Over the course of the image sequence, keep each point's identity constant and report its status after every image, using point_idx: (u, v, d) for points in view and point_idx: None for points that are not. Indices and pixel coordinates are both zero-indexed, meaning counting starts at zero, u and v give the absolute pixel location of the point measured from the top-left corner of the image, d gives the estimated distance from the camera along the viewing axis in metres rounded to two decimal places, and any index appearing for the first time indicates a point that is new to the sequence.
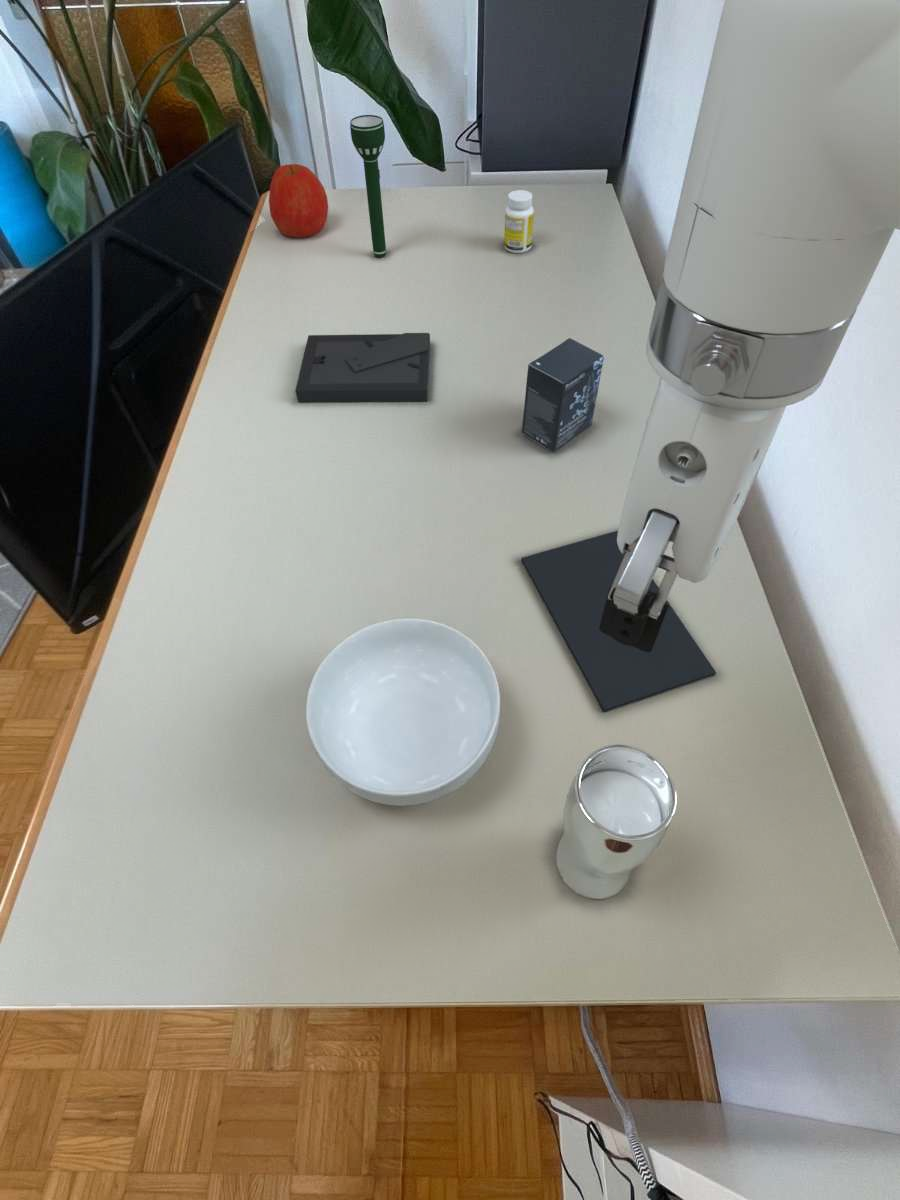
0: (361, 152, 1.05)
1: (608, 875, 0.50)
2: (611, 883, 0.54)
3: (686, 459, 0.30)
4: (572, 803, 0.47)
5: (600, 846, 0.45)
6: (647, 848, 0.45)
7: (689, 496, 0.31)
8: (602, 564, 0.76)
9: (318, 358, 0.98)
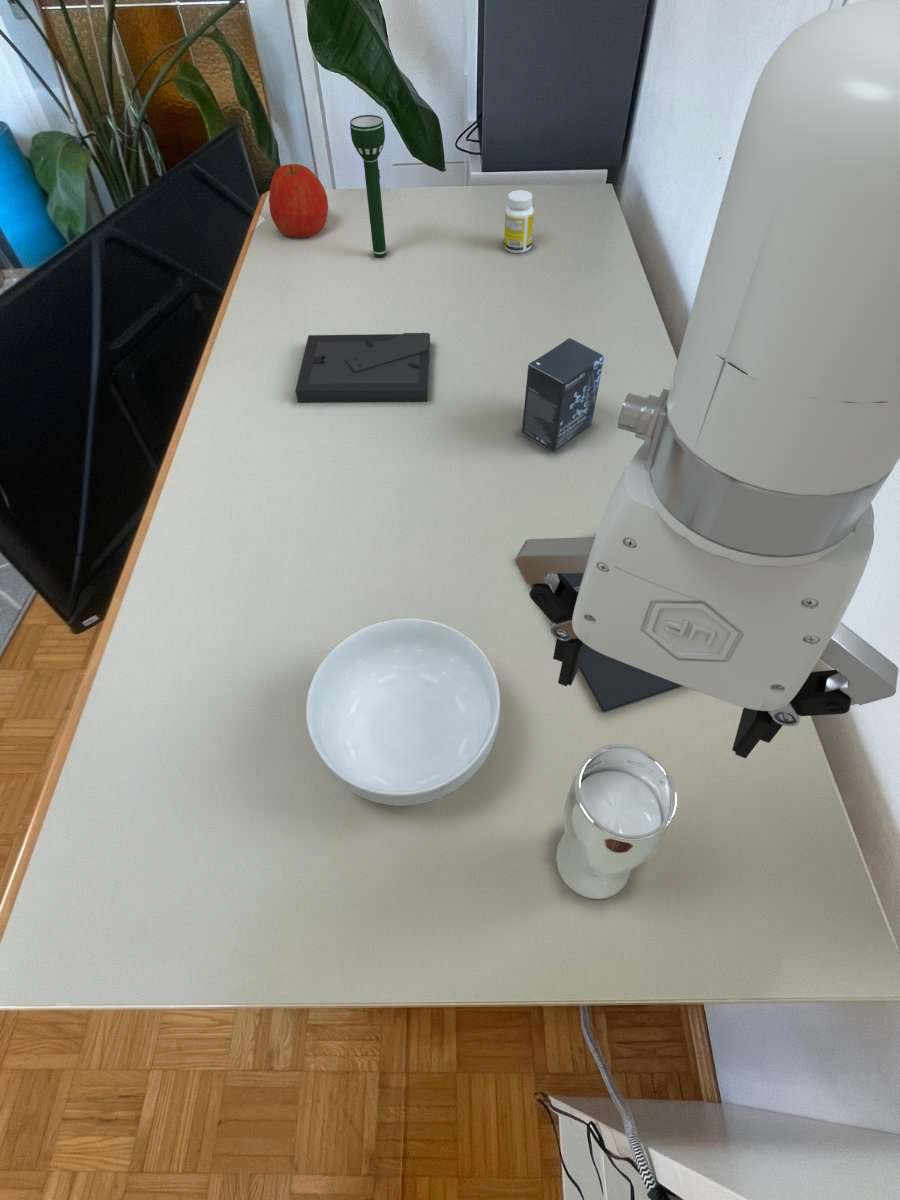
0: (361, 152, 1.05)
1: (608, 875, 0.50)
2: (611, 883, 0.54)
3: None
4: (572, 803, 0.46)
5: (600, 846, 0.45)
6: (647, 848, 0.45)
7: None
8: None
9: (318, 358, 0.98)
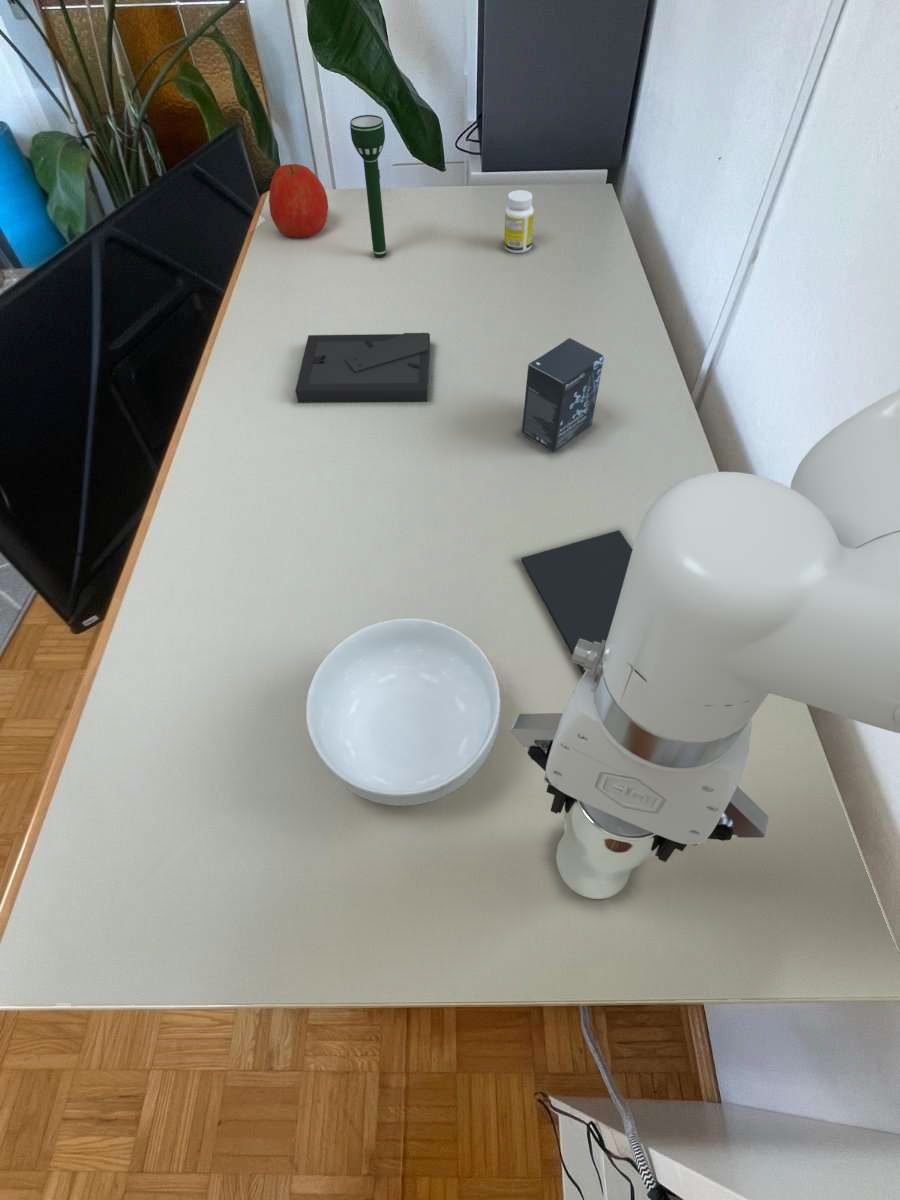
0: (361, 152, 1.05)
1: (608, 875, 0.50)
2: (611, 883, 0.54)
3: None
4: (572, 803, 0.47)
5: (600, 846, 0.45)
6: (647, 848, 0.45)
7: None
8: (602, 564, 0.76)
9: (318, 358, 0.98)
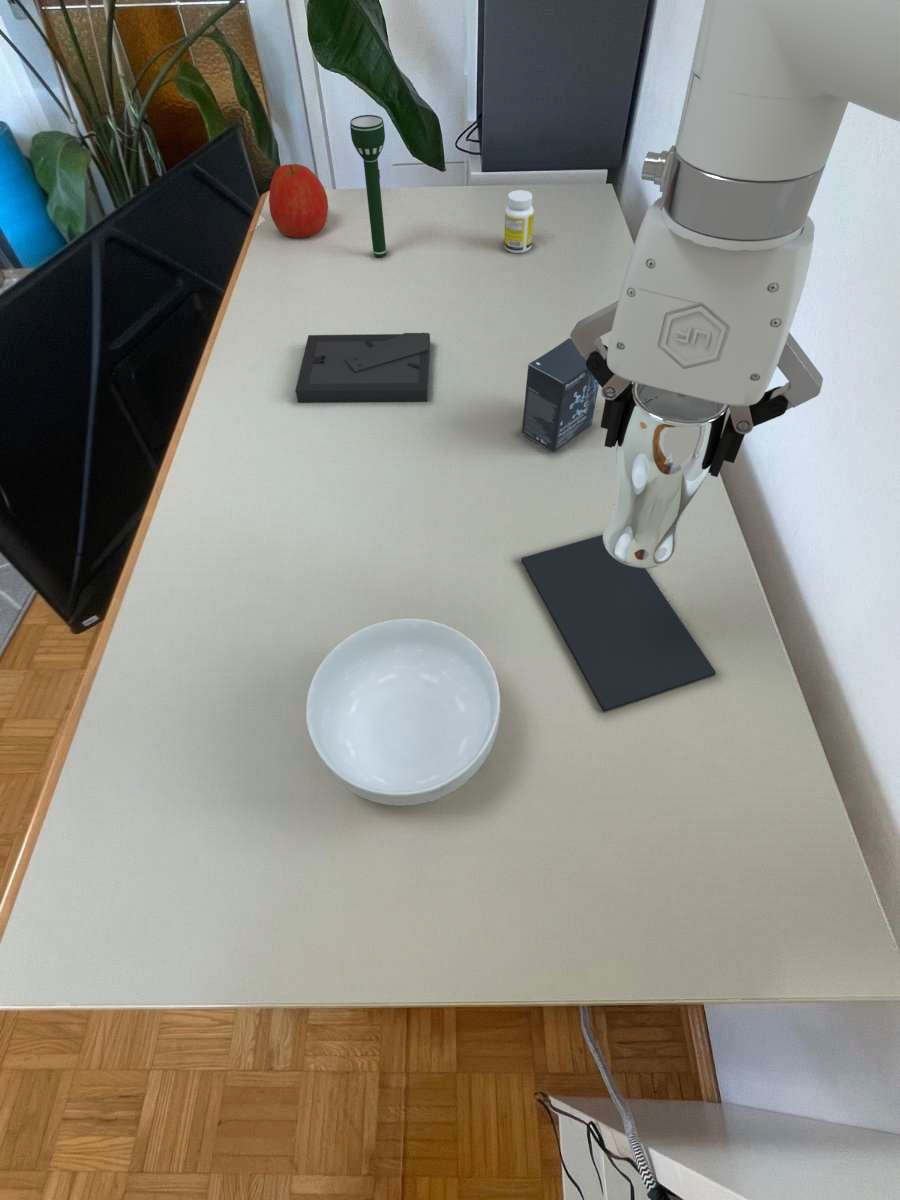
0: (361, 152, 1.05)
1: (659, 513, 0.52)
2: (659, 542, 0.55)
3: None
4: (628, 415, 0.48)
5: (656, 447, 0.47)
6: (702, 446, 0.47)
7: None
8: (602, 564, 0.76)
9: (318, 358, 0.98)
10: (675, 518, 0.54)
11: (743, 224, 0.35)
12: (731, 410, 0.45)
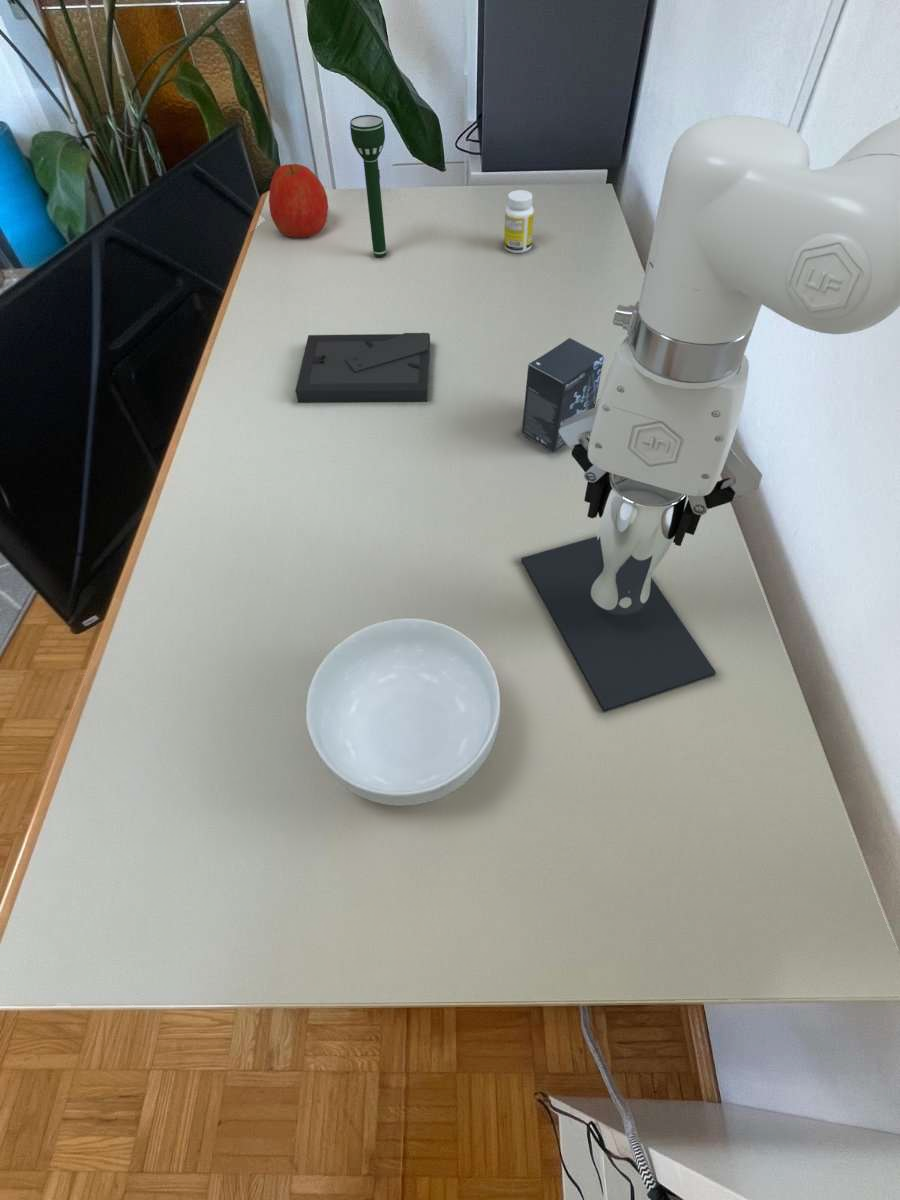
0: (361, 152, 1.05)
1: (633, 572, 0.62)
2: (634, 594, 0.66)
3: None
4: (606, 495, 0.58)
5: (629, 523, 0.57)
6: (666, 523, 0.57)
7: None
8: None
9: (318, 358, 0.98)
10: (647, 576, 0.64)
11: (689, 371, 0.45)
12: (689, 496, 0.55)
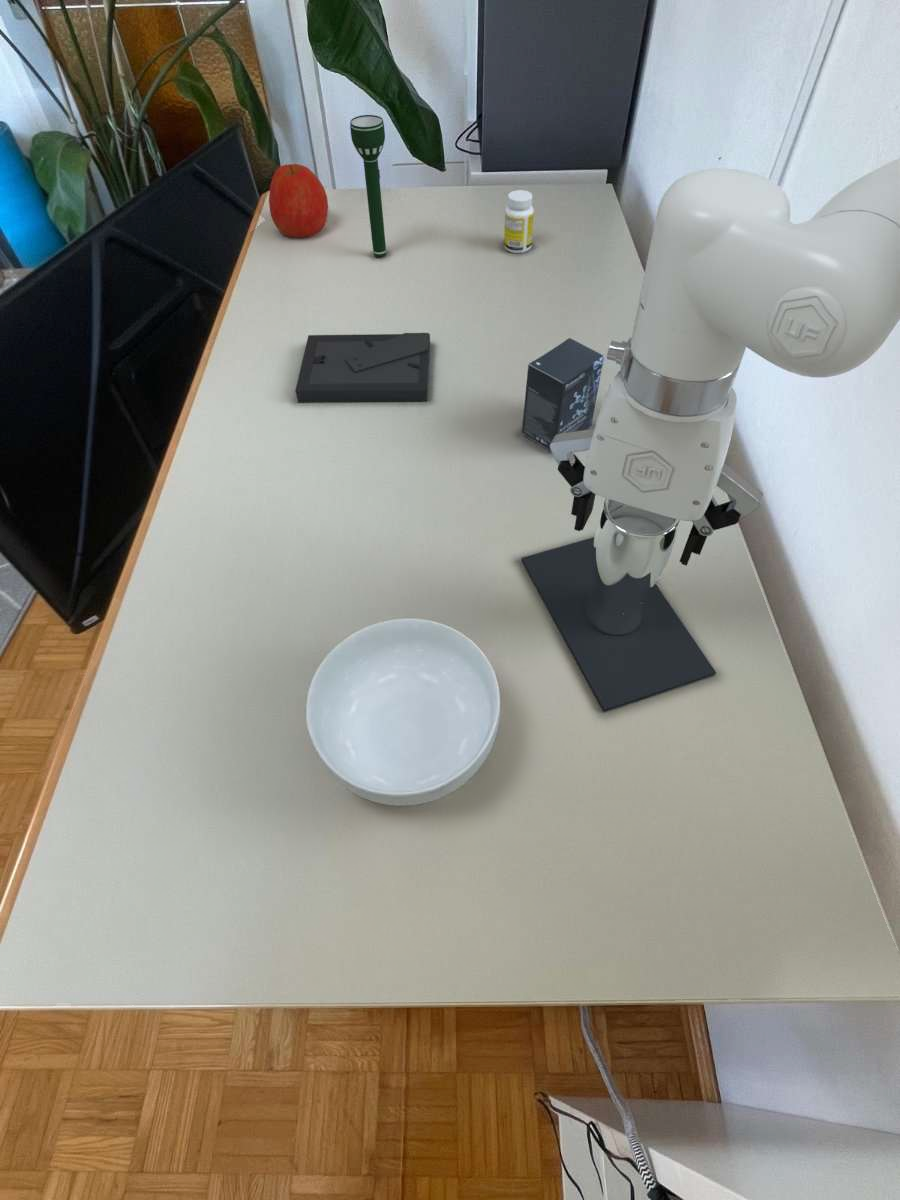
0: (361, 152, 1.05)
1: (627, 596, 0.65)
2: (629, 615, 0.68)
3: None
4: (601, 523, 0.61)
5: (623, 551, 0.60)
6: (658, 551, 0.60)
7: None
8: None
9: (318, 358, 0.98)
10: (641, 599, 0.66)
11: (679, 406, 0.47)
12: None
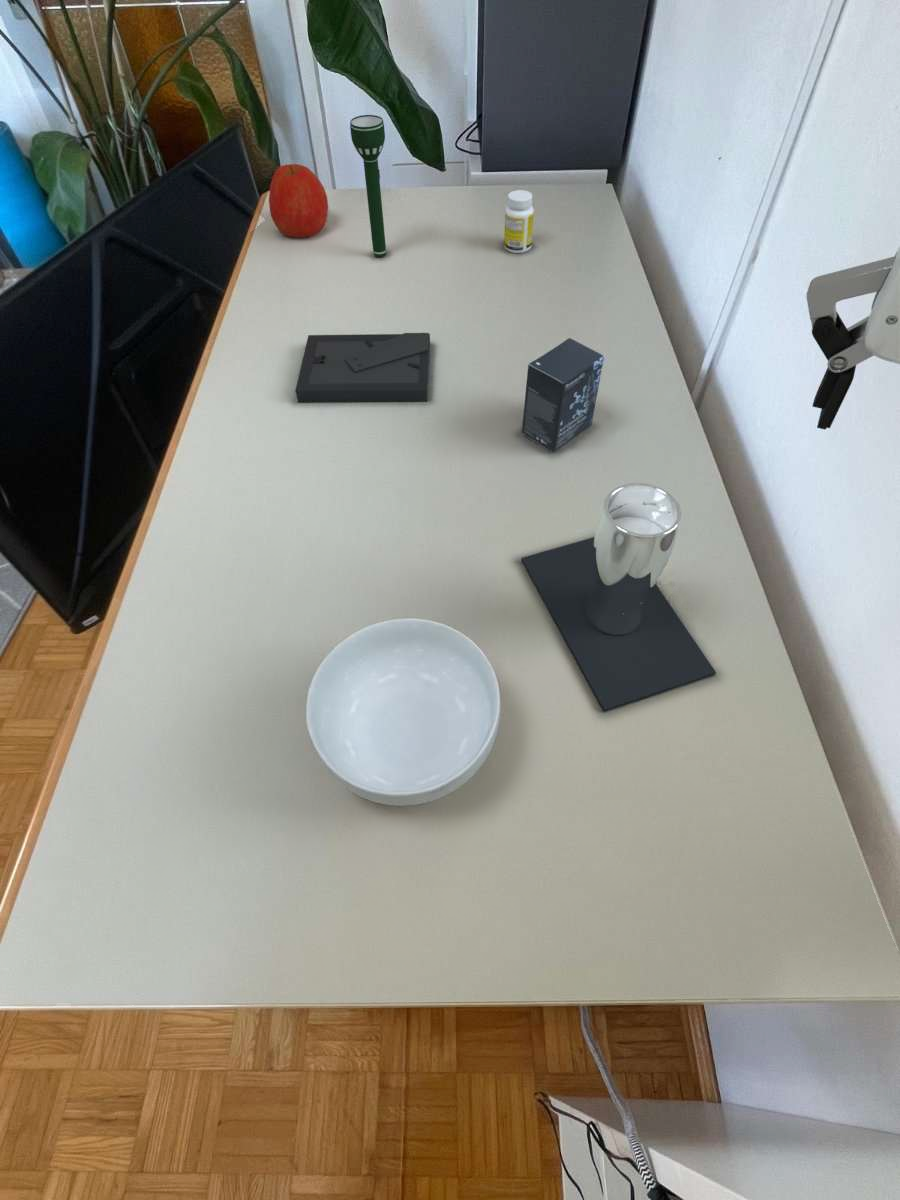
0: (361, 152, 1.05)
1: (627, 596, 0.65)
2: (629, 615, 0.68)
3: None
4: (601, 524, 0.61)
5: (623, 551, 0.60)
6: (659, 551, 0.60)
7: None
8: None
9: (318, 358, 0.98)
10: (641, 599, 0.66)
11: None
12: None
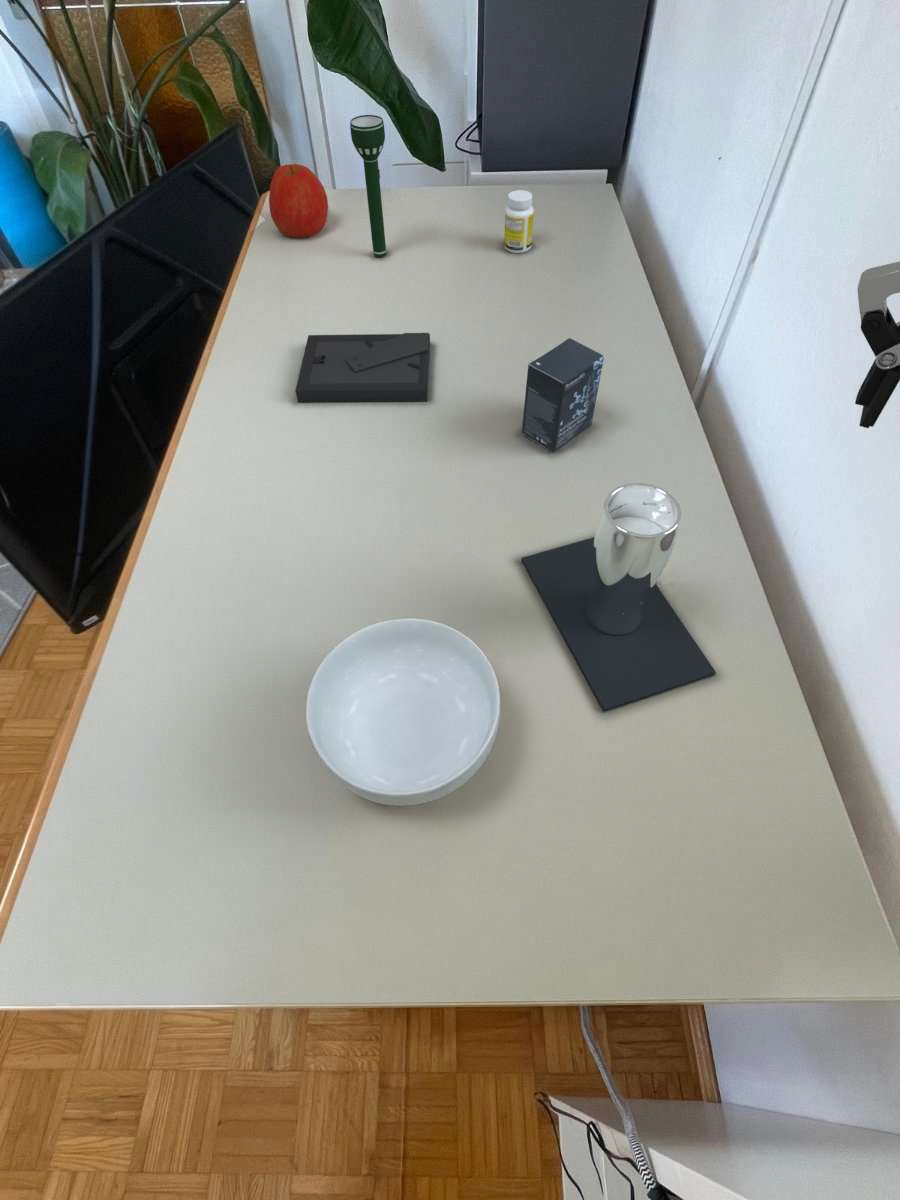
0: (361, 152, 1.05)
1: (627, 596, 0.65)
2: (629, 615, 0.68)
3: None
4: (601, 524, 0.61)
5: (623, 551, 0.60)
6: (659, 551, 0.60)
7: None
8: None
9: (318, 358, 0.98)
10: (641, 599, 0.66)
11: None
12: None
